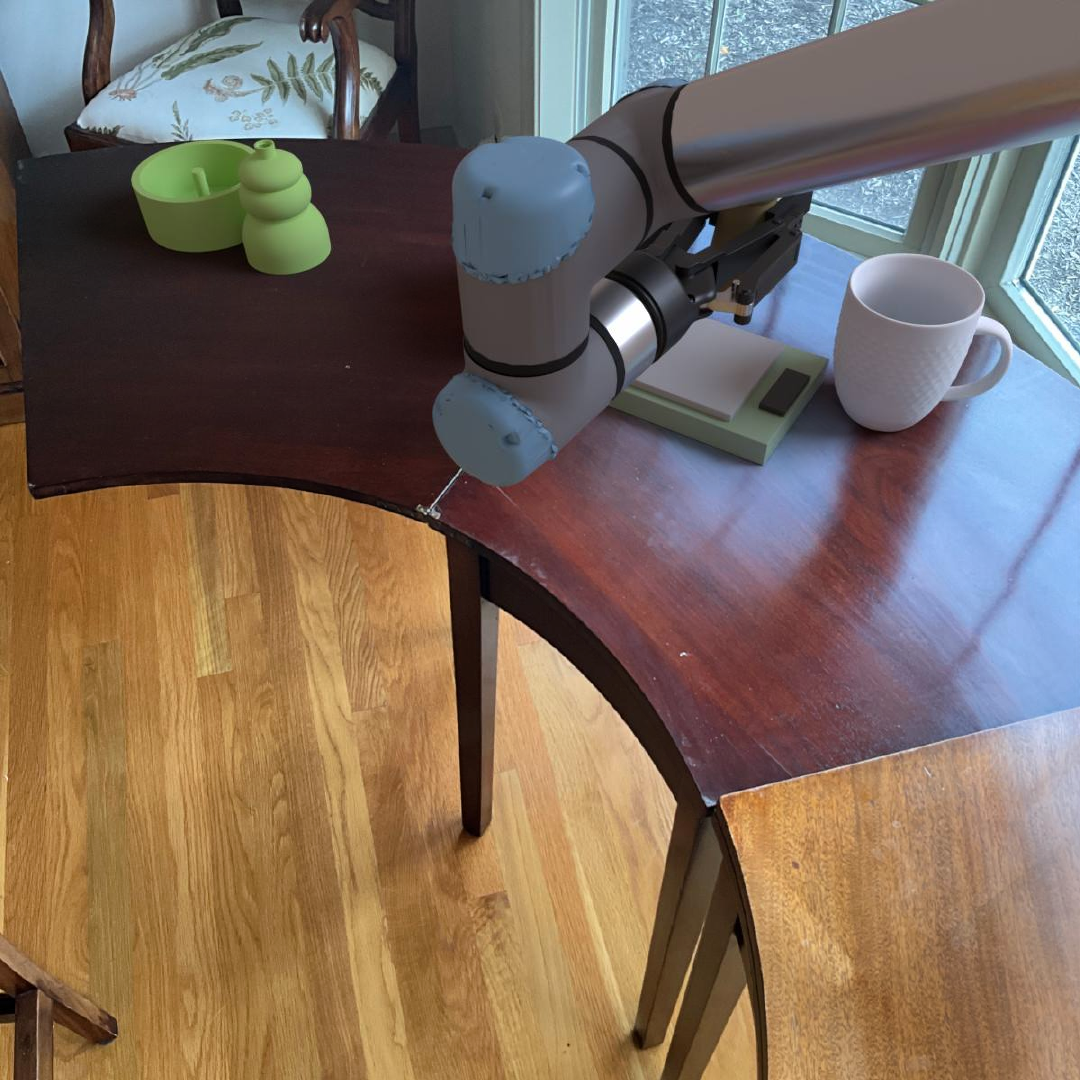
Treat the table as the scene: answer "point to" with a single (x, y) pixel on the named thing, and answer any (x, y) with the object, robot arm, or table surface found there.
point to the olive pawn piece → (738, 225)
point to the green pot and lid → (233, 203)
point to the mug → (909, 339)
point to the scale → (726, 389)
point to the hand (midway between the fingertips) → (781, 185)
